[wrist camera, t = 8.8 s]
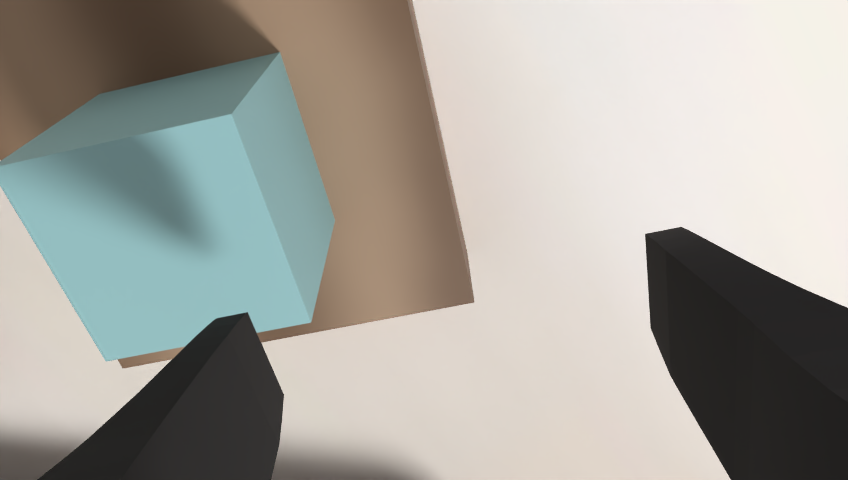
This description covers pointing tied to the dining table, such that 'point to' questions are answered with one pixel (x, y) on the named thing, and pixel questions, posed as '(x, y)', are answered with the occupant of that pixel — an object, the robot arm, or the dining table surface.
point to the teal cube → (178, 206)
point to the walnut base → (320, 111)
